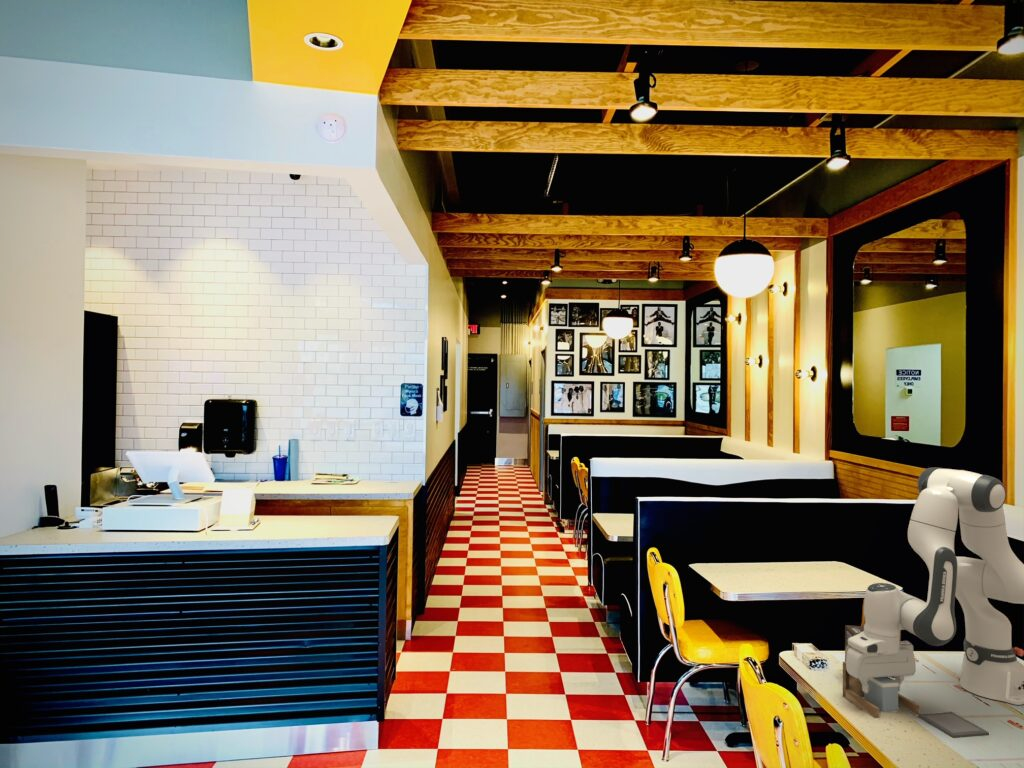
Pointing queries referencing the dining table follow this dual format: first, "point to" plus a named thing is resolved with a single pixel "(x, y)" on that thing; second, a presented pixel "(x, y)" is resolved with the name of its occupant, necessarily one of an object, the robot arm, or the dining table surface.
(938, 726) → the mat
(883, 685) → the block
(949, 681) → the dining table surface
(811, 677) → the dining table surface
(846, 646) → the coffee box
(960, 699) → the dining table surface
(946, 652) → the dining table surface
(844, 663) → the wooden stand
